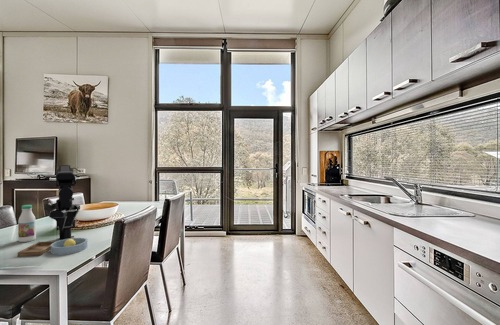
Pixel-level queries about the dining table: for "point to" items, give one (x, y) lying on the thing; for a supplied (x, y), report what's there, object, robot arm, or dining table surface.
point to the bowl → (60, 249)
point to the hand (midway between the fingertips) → (65, 227)
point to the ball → (69, 243)
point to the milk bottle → (26, 225)
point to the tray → (36, 249)
